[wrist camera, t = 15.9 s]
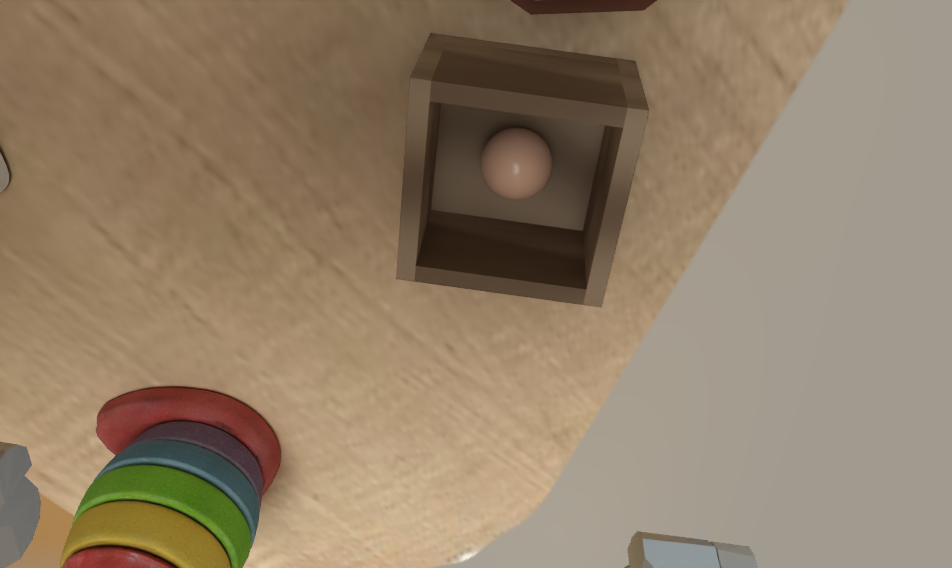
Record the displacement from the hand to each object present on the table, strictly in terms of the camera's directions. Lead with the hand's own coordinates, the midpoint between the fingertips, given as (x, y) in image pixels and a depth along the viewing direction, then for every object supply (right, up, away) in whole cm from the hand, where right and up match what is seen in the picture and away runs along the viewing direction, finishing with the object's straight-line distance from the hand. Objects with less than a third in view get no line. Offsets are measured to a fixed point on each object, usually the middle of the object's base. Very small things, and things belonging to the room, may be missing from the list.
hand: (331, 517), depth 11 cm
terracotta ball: (+4, +9, +26) cm, 28 cm away
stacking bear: (-15, -7, +39) cm, 42 cm away
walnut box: (+4, +10, +26) cm, 28 cm away
